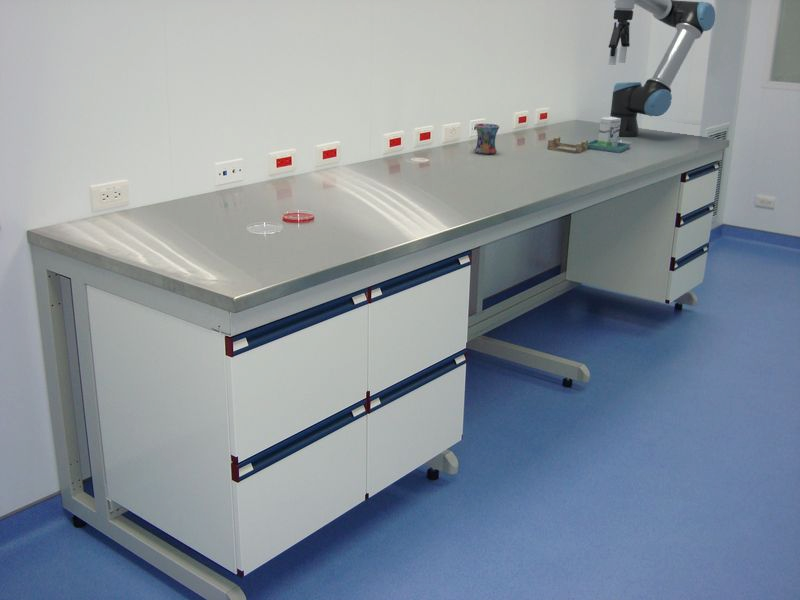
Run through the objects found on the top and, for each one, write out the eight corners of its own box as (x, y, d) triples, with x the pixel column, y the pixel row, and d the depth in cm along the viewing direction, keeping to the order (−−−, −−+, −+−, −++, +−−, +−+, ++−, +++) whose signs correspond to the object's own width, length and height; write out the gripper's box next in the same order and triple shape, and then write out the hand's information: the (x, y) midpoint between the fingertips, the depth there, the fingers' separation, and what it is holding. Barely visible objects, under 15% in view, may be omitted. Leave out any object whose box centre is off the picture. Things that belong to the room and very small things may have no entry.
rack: (557, 145, 350) (558, 136, 349) (587, 149, 344) (588, 140, 343) (547, 149, 340) (547, 140, 338) (577, 153, 334) (578, 144, 333)
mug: (490, 156, 320) (492, 128, 317) (468, 152, 325) (470, 125, 321) (504, 152, 330) (507, 124, 326) (484, 148, 335) (486, 121, 331)
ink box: (606, 148, 343) (610, 119, 339) (596, 146, 347) (600, 117, 342) (617, 146, 349) (621, 117, 345) (607, 144, 352) (610, 116, 348)
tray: (594, 143, 357) (594, 139, 356) (629, 148, 350) (629, 144, 349) (583, 148, 346) (584, 143, 345) (619, 153, 339) (620, 148, 338)
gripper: (623, 8, 353) (616, 61, 361) (605, 9, 333) (598, 64, 340) (641, 9, 350) (634, 62, 357) (624, 10, 329) (617, 66, 337)
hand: (616, 63), depth 349 cm, fingers open, 13 cm apart
